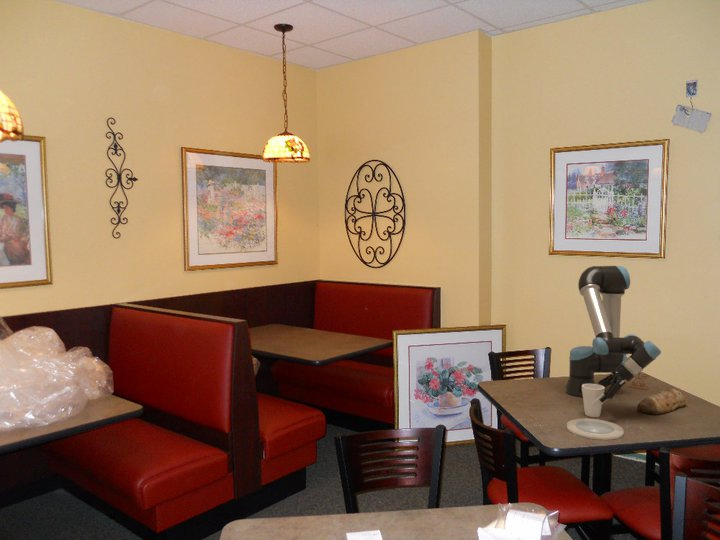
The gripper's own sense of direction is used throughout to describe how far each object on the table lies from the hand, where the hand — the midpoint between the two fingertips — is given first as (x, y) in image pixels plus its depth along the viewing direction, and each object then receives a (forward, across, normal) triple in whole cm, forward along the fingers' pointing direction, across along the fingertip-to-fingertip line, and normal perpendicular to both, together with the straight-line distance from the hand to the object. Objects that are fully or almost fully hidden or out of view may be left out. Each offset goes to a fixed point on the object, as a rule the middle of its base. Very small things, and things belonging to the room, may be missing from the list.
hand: (591, 401), depth 259 cm
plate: (+6, -20, -3) cm, 21 cm away
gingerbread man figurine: (-18, +50, -27) cm, 59 cm away
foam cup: (+4, +1, -5) cm, 7 cm away
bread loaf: (-19, +17, -29) cm, 38 cm away
